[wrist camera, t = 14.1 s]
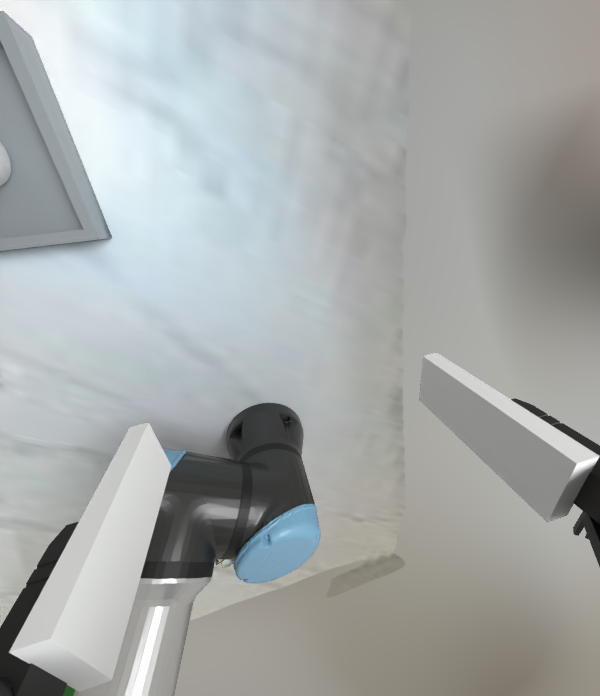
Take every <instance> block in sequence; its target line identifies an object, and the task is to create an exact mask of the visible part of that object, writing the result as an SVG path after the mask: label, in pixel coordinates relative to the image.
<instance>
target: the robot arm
mask: <svg viewBox="0 0 600 696" xmlns="http://www.w3.org/2000/svg"><path fill="white" fill-rule="evenodd" d="M419 400H420V401H421V402H422V403H423V404H424V405H425V406H426V407H427V408H428V409H429V410H430V411H431V412H432V413H433V414H434V415H435V416H436V417H438V418H439V419H440V420H441V421H442V422H443V423H444V424H445V425H446V426H447V427H448V428H449V429H450V430H451V431H452V432H453V433H454V434H455V435H456V436H458V438H459V439H461V440H462V441H463V442H464V443H465V444H466V445H467V446H468V447H469V448H470V449H471V450H472V451H473V452H474V453H475V454H476V455H477V456H478V457H479V458H480V459H482V460H483V461H484V462H485V463H486V464H487V465H488V466H489V467H490V468H491V469H492V470H493V471H494V472H495V473H496V474H497V475H498V476H499V477H500V478H501V479H502V480H504V481H505V482H506V483H507V484H508V485H509V486H510V487H511V488H512V489H513V490H514V491H515V492H516V493H517V494H518V495H519V496H520V497H521V498H522V499H524V501H525V502H527V503H528V504H529V505H530V506H531V507H532V508H533V509H534V510H535V511H536V512H537V513H538V514H539V515H540V516H541V517H542V518H543V519H544V520H545V521H546V522H550V521H553V520H555V519H558V518H561V517H563V516H566V515H568V513H569V511H570V509H571V507H572V506H573V504H576V505H577V506H578V507H579V508H580V509H582V510H583V512H582V514H581V515H580V517H579V519H578V521H577V522H576V524H575V526H574V527H573V530H574V534H575V535H579V534H580V532H581V531H582V529H583V528H584V527H585V530H586V532H587V534H586V536H585V538H587V539H589V540H590V543H591V545H592V548H593V551H594V553H595V556H596V558H597V561H598V564H599V566H600V446H599V445H598V444H596V443H594V442H592V441H591V440H589V439H588V438H586V437H584V436H583V435H581V434H579V433H578V432H576V431H574V430H573V429H571V428H570V427H568V426H566V425H565V424H561V423H560V422H559V421H558V420H556V419H555V418H553V417H551V416H548V415H547V414H546V413H545V412H543V411H541V410H540V409H538V408H536V407H535V406H533V405H531V404H529V403H526V402H523V401H521V400H518V399H511V400H510V399H509V398H507V397H506V396H504V395H502V394H501V393H499V392H498V391H496V390H495V389H493V388H492V387H490V386H488V385H487V384H485V383H484V382H482V381H480V380H479V379H477V378H476V377H474V376H473V375H471V374H469V373H468V372H466V371H465V370H463V369H462V368H460V367H458V366H457V365H455V364H454V363H452V362H450V361H449V360H447V359H446V358H444V357H443V356H441V355H439V354H438V353H434V354H429V355H425V356H423V361H422V372H421V383H420V395H419ZM302 446H303V428H302V425H301V421H300V419H299V417H298V415H297V414H296V413H295V412H294V411H293V410H291V409H290V408H288V407H286V406H283V405H280V404H274V403H265V404H259V405H255V406H252V407H250V408H248V409H246V410H244V411H242V412H241V413H240V414H238V415H237V416H236V417H235V418H234V420H233V421H232V423H231V424H230V426H229V429H228V434H227V447H228V451H229V454H230V456H231V458H232V460H230V459H225V458H219V457H213V456H207V455H202V454H196V453H190V452H187V450H183V451H177V450H169V449H162V447H161V445H160V443H159V441H158V439H157V437H156V436H155V434H154V432H153V430H152V428H151V426H150V424H149V422H148V423H144V424H140V425H136V426H132V427H130V428H129V430H128V431H127V433H126V435H125V437H124V439H123V441H122V443H121V444H120V446H119V448H118V450H117V452H116V454H115V456H114V457H113V459H112V461H111V463H110V465H109V467H108V469H107V471H106V472H105V474H104V476H103V478H102V480H101V482H100V484H99V485H98V487H97V489H96V491H95V493H94V495H93V497H92V498H91V500H90V502H89V504H88V506H87V508H86V510H85V512H84V513H83V515H82V517H81V519H80V521H79V522H76V523H73V524H69V525H67V526H66V527H65V528H64V529H63V530H62V531H61V532H60V533H59V535H58V536H57V537H56V538H55V539H54V540H53V541H52V542H51V543H50V545H49V546H48V548H47V550H46V551H45V553H44V555H43V556H42V558H41V560H40V561H39V563H38V565H37V569H36V570H34V572H33V573H32V575H31V577H30V578H29V580H28V582H27V583H26V584H27V586H26V588H24V589H23V590H22V592H21V594H20V595H19V597H18V599H17V600H16V602H15V604H14V605H13V607H12V609H11V611H10V612H9V614H8V616H7V617H6V619H5V621H4V622H3V624H2V626H1V627H0V696H63V694H64V691H65V689H66V686H67V685H68V686H70V687H72V688H73V689H75V692H74V695H73V696H174V694H175V689H176V684H177V679H178V674H179V669H180V664H181V659H182V654H183V650H184V645H185V640H186V635H187V630H188V625H189V620H190V615H191V610H192V606H193V601H194V599H195V597H196V596H197V594H198V593H199V592H200V591H201V590H202V589H203V588H204V587H205V586H206V585H207V584H208V583H209V582H210V581H211V578H212V573H213V568H214V562H215V559H231V560H234V569H235V572H236V575H237V577H238V578H239V579H240V580H243V581H244V582H246V583H262V582H267V581H271V580H274V579H277V578H280V577H282V576H284V575H286V574H288V573H290V572H292V571H293V570H295V569H297V568H298V567H300V566H301V565H302V564H303V563H305V562H306V561H307V560H308V559H309V558H310V557H311V556H312V554H313V553H314V551H315V550H316V548H317V546H318V544H319V540H320V527H319V522H318V517H317V508H316V506H315V503H314V500H313V496H312V493H311V489H310V486H309V482H308V479H307V475H306V472H305V468H304V465H303V461H302V458H301V454H302Z"/></svg>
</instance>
